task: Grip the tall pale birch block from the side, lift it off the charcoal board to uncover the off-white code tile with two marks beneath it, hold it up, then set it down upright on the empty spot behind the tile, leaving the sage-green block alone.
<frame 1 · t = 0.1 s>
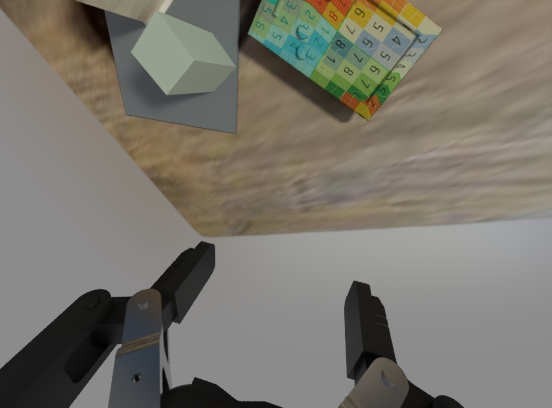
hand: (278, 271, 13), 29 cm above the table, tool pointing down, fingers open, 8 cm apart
code board: (171, 28, 34), on the table
sage block: (212, 64, 35), point 1 cm above the table, touching code board
puzzle game: (336, 37, 31), on the table
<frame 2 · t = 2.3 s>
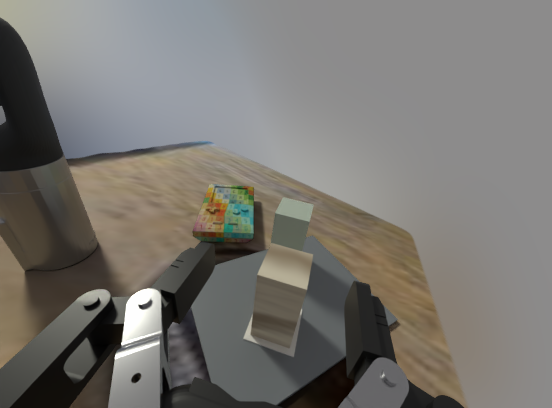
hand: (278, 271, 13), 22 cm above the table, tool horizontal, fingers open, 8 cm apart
code board: (286, 299, 37), on the table
birch block: (275, 322, 32), point 1 cm above the table, touching code board
sage block: (285, 260, 43), point 1 cm above the table, touching code board
puzzle game: (228, 219, 54), on the table
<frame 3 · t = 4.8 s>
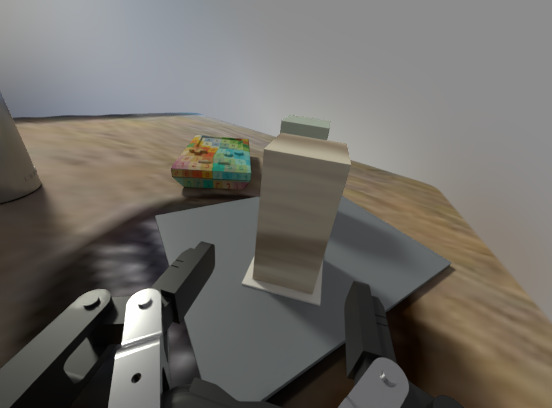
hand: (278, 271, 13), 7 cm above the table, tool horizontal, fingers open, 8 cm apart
code board: (299, 242, 27), on the table
birch block: (287, 264, 22), point 1 cm above the table, touching code board
sage block: (292, 204, 33), point 1 cm above the table, touching code board
puzzle game: (218, 170, 44), on the table
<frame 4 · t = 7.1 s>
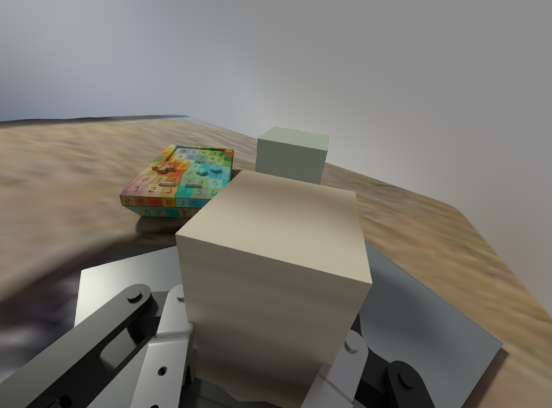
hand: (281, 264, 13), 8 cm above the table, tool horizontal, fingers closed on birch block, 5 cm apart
code board: (284, 309, 19), on the table
birch block: (260, 365, 14), point 1 cm above the table, touching code board, gripper
sage block: (280, 242, 26), point 1 cm above the table, touching code board
puzzle game: (194, 189, 36), on the table
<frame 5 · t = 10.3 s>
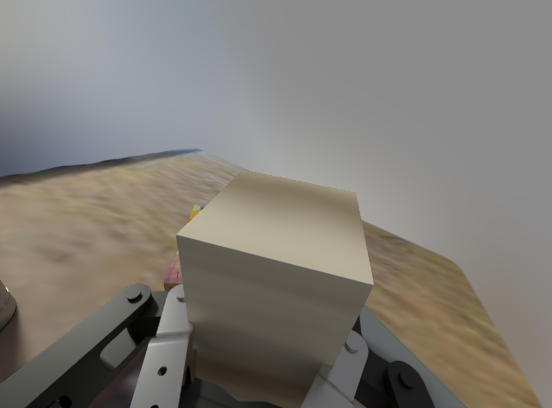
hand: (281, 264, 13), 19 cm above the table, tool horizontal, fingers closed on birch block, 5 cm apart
code board: (312, 403, 23), on the table
birch block: (260, 366, 14), point 12 cm above the table, touching gripper
puzzle game: (219, 253, 40), on the table
when the fingers open (8 cm above the table, at t = 13.7 s): birch block drops 1 cm, resting on code board.
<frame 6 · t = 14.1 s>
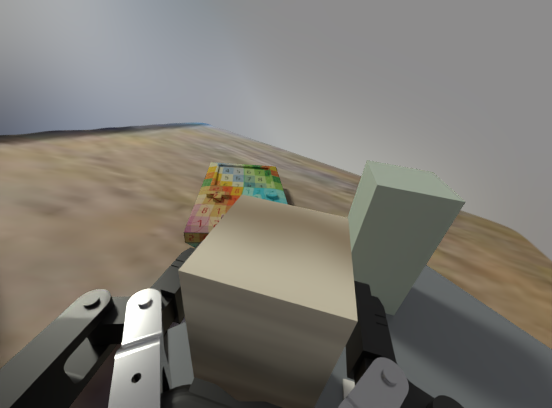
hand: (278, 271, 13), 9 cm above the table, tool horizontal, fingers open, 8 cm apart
code board: (397, 379, 16), on the table
birch block: (258, 378, 15), point 1 cm above the table, touching code board
sage block: (360, 284, 23), point 1 cm above the table, touching code board
puzzle game: (242, 213, 34), on the table
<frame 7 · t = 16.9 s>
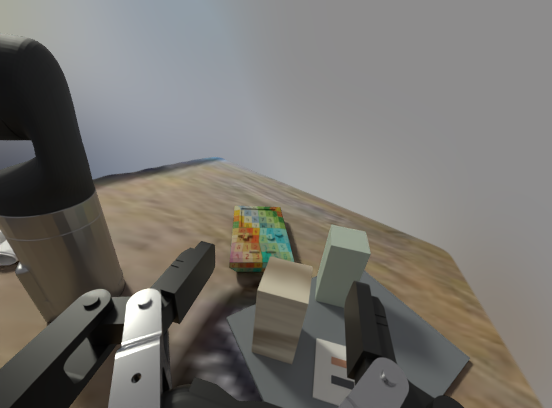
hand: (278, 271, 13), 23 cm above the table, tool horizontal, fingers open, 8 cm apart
code board: (344, 339, 33), on the table
birch block: (276, 337, 31), point 1 cm above the table, touching code board
sage block: (331, 291, 40), point 1 cm above the table, touching code board
puzzle game: (258, 243, 51), on the table
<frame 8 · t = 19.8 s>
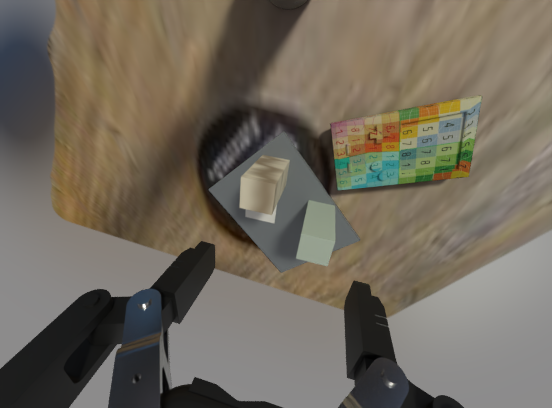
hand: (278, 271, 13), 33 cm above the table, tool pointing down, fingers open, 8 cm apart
code board: (282, 212, 50), on the table
birch block: (274, 170, 45), point 1 cm above the table, touching code board
sage block: (318, 213, 47), point 1 cm above the table, touching code board
puzzle game: (393, 144, 39), on the table
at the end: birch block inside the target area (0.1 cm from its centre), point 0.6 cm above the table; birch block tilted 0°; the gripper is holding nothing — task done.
